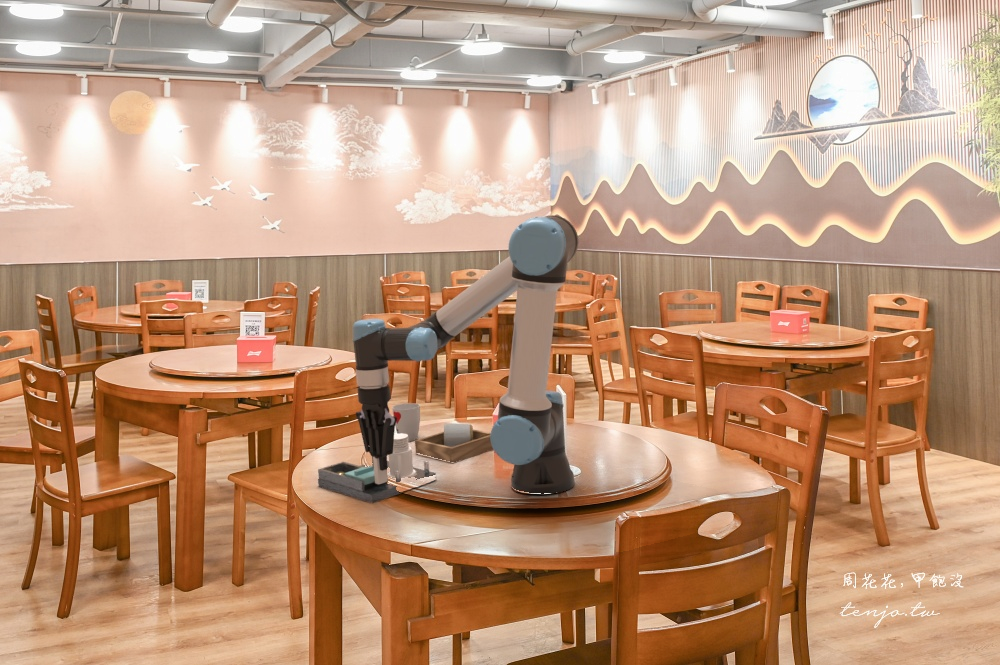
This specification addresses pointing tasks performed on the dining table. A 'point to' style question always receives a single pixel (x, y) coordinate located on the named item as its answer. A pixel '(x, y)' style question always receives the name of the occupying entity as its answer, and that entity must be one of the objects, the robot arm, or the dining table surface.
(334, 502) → the dining table surface
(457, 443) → the ceramic mug
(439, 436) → the wooden caddy
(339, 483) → the housing board
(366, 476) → the cover
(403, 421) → the cup
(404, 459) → the downlight
